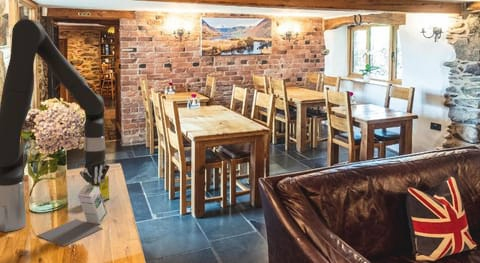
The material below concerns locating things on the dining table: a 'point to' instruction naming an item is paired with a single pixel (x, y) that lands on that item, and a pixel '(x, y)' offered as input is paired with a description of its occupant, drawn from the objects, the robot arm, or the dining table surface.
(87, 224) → the charcoal mat
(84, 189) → the syrup box
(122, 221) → the dining table surface
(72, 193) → the dining table surface
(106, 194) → the supplement box
